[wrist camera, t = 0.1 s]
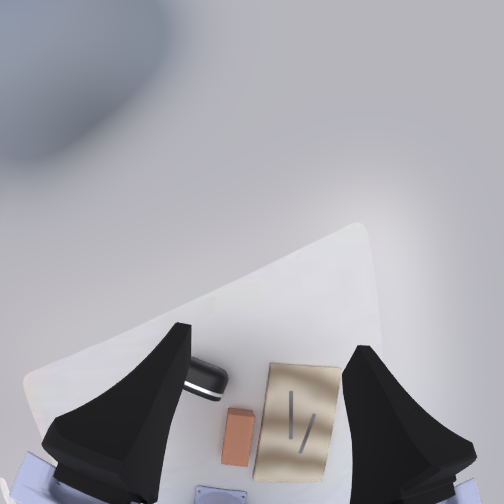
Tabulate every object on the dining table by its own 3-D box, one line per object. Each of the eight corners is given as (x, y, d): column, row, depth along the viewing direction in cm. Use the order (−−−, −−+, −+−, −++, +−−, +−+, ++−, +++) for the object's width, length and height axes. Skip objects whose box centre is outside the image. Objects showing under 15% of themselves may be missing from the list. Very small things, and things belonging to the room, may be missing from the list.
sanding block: (245, 455, 36) (247, 466, 31) (221, 452, 35) (221, 463, 31) (252, 410, 38) (255, 417, 34) (228, 407, 38) (228, 414, 34)
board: (319, 478, 34) (321, 481, 33) (252, 477, 34) (253, 480, 33) (337, 367, 41) (341, 368, 40) (270, 362, 41) (271, 362, 40)
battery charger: (231, 369, 40) (232, 375, 30) (222, 392, 39) (220, 404, 28) (188, 352, 41) (174, 351, 30) (179, 374, 39) (162, 380, 29)
